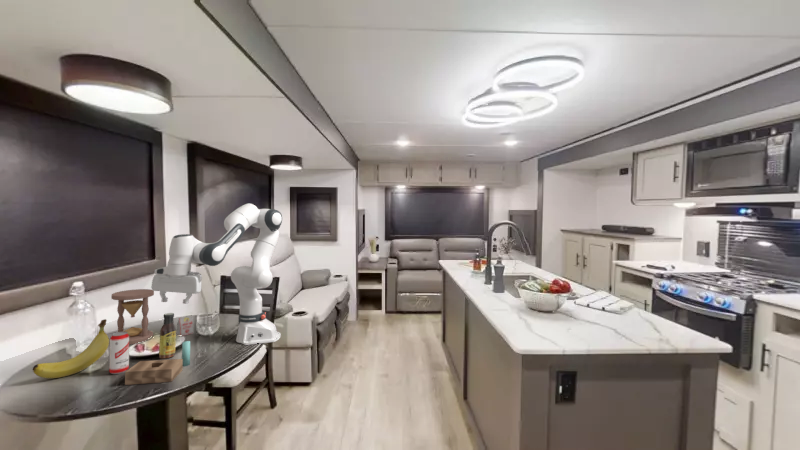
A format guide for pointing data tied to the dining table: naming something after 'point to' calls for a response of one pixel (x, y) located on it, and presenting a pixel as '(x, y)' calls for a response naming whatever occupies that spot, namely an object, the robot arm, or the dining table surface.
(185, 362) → the peg
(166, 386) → the dining table surface
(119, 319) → the hourglass
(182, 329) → the white red printed box
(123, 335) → the beer can
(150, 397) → the dining table surface
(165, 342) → the sauce bottle
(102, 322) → the banana
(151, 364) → the socket block
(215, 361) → the dining table surface
